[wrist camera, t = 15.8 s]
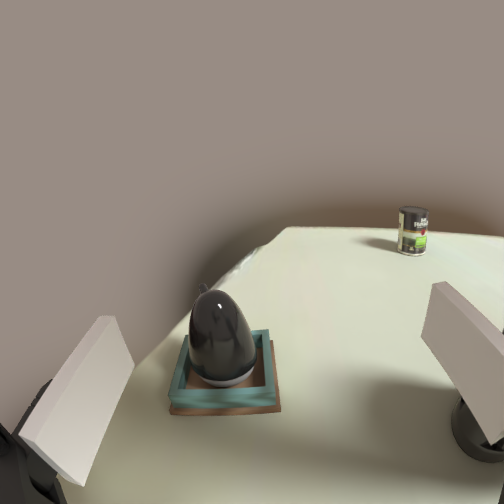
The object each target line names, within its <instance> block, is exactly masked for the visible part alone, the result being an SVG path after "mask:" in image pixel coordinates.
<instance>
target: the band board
mask: <svg viewBox="0 0 504 504" xmlns="http://www.w3.org/2000/svg"><path fill="white" fill-rule="evenodd" d="M251 333H252V335H253V338H254V341H255V345H256V349H257V361H256V363H255V365H254V368H253V370H252V372H251V374H250V375H249V376H248V377H247V378H246V379H245V380H244V381H243V382H241V383H239V384H237V385H234V386H231V387H217V386H213V385H211V384H209V383H207V382H205V381H204V380H203V379H202V378H201V377H200V376H199V375H198V374H197V373H196V372H195V371H194V370H193V368H192V366H191V362H190V357H189V346H188V335H185V338H184V341H183V345H182V348H181V352H180V355H179V358H178V362H177V365H176V369H175V372H174V376H173V379H172V383H171V386H170V390H169V393H168V396H169V398H170V401H171V405H170V409H169V411H170V413H171V415H201V416H214V415H245V414H261V413H273V412H281V405H280V397H279V388H278V380H277V372H276V364H275V355H274V347H273V340H270V338H269V329H266V330H255V331H251Z"/></svg>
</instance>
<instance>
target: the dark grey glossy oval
mask: <svg viewBox="0 0 504 504" xmlns="http://www.w3.org/2000/svg"><path fill="white" fill-rule="evenodd" d="M199 289H200V292H201V295H200V296H199V297H198V298H197V300H196V301H195V303H194V306H193V308H192V312H191V316H190V322H189V334H188V346H189V357H190V362H191V366H192V368H193V370H194V371H195V372H196V373H197V374H198V375H199V376H200V377H201V378H202V379H203V380H204V381H205V382H207V383H209V384H211V385H213V386H217V387H231V386H234V385H237V384H239V383H241V382H243V381H244V380H245V379H246V378H247V377H248V376H249V375H250V374H251V372H252V370H253V368H254V365H255V363H256V361H257V349H256V345H255V341H254V338H253V335H252V333H251V330H250V328H249V325H248V323H247V321H246V319H245V317H244V315H243V313H242V311H241V310H240V308H239V306H238V305H237V304H236V302H235V301H234V300H233V299H232V298H231V297H230V296H229V295H228V294H227V293H225V292H223V291H220V290H208V288H207V286H206V285H205V284H200V285H199Z"/></svg>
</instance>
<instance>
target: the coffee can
mask: <svg viewBox="0 0 504 504" xmlns="http://www.w3.org/2000/svg"><path fill="white" fill-rule="evenodd" d="M399 210H400V216H399V235H398V248H397V250H398V251H399V252H400V253H402V254H405V255H409V256H420V255H423V254H425V248H426V238H427V226H428V213H429V211H428V210H427V209H424V208H421V207H414V206H404V207H400V208H399Z"/></svg>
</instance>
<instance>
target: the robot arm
mask: <svg viewBox="0 0 504 504" xmlns="http://www.w3.org/2000/svg"><path fill="white" fill-rule="evenodd" d="M421 338H422V339H423V340H424V342H425V343H426V345H427V346H428V347H429V349H430V350H431V352H432V353H433V354H434V356H435V357H436V359H437V360H438V361H439V363H440V364H441V366H442V367H443V369H444V370H445V372H446V373H447V375H448V376H449V378H450V379H451V381H452V382H453V384H454V385H455V387H456V388H457V390H458V391H459V393H460V394H461V396H460V398H459V400H458V401H457V403H456V405H455V407H454V410H453V414H452V429H453V433H454V436H455V439H456V441H457V442H458V444H459V445H460V447H461V448H462V449H463V450H464V451H465V452H466V453H467V454H468V455H470V456H471V457H473V458H475V459H477V460H480V461H483V462H499V461H503V460H504V329H503V331H502V333H501V332H500V331H499V330H498V329H497V328H496V327H495V326H494V325H493V324H492V323H491V322H490V321H489V320H488V319H487V318H486V317H485V316H484V315H483V314H482V313H481V312H480V311H479V310H478V309H476V308H475V307H474V306H473V305H472V304H471V303H470V302H469V301H468V300H467V299H466V298H464V297H463V296H462V295H461V294H460V293H459V292H458V291H457V290H455V289H454V288H453V287H452V286H451V285H450V284H448V283H447V282H446V281H445V282H440V283H434V284H432V289H431V295H430V300H429V304H428V309H427V314H426V318H425V322H424V326H423V330H422V334H421ZM134 367H135V364H134V362H133V360H132V358H131V355H130V353H129V351H128V348H127V346H126V344H125V341H124V339H123V337H122V334H121V332H120V329H119V327H118V324H117V321H116V319H115V316H99V318H98V319H97V320H96V322H95V323H94V324H93V325H92V327H91V328H90V329H89V330H88V332H87V333H86V335H85V336H84V337H83V339H82V340H81V341H80V342H79V344H78V345H77V346H76V348H75V349H74V351H73V352H72V353H71V355H70V356H69V357H68V359H67V360H66V362H65V363H64V365H63V366H62V368H61V369H60V370H59V372H58V373H57V375H56V376H55V378H54V379H51V380H50V381H49V382H47V383H46V384H45V385H44V386H43V387H42V388H41V389H40V391H39V392H38V394H37V395H36V399H34V400H33V402H32V403H31V406H29V407H28V409H27V411H26V412H25V414H24V415H23V417H22V419H21V420H20V422H19V423H18V426H17V427H16V428H15V430H14V432H13V433H12V434H11V435H10V433H9V432H8V431H7V430H6V429H5V428H4V427H3V426H2V425H1V423H0V504H67V502H66V499H65V497H64V494H63V491H62V488H61V485H60V483H59V481H58V479H57V478H56V475H57V473H59V474H60V475H61V476H62V477H63V478H64V479H66V480H67V481H69V482H72V483H74V484H77V485H80V486H82V487H84V485H85V483H86V480H87V477H88V475H89V472H90V469H91V467H92V464H93V461H94V459H95V456H96V454H97V451H98V449H99V446H100V444H101V441H102V439H103V437H104V434H105V432H106V429H107V427H108V425H109V422H110V420H111V418H112V415H113V413H114V411H115V408H116V406H117V404H118V402H119V399H120V397H121V395H122V393H123V390H124V388H125V386H126V384H127V382H128V379H129V377H130V375H131V373H132V371H133V369H134ZM498 504H504V484H503V488H502V492H501V495H500V499H499V502H498Z"/></svg>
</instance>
